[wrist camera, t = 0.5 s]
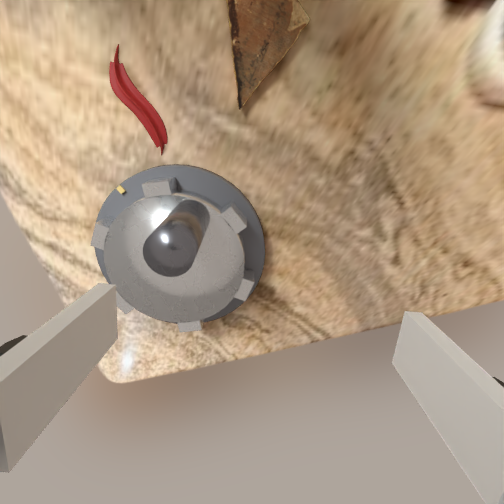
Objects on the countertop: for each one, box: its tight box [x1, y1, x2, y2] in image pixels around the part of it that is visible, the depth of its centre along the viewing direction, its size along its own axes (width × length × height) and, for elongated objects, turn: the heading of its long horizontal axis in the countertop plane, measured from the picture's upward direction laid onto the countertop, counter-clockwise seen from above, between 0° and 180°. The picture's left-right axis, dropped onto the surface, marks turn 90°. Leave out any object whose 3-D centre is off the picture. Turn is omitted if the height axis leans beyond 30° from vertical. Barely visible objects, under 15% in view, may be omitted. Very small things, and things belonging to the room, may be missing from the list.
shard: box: [226, 0, 310, 110], centre depth 31 cm, size 11×8×2 cm
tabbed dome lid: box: [91, 176, 254, 332], centre depth 32 cm, size 18×19×13 cm
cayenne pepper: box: [109, 44, 167, 156], centre depth 33 cm, size 12×5×2 cm, turn 9°
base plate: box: [95, 164, 265, 324], centre depth 39 cm, size 21×21×2 cm
